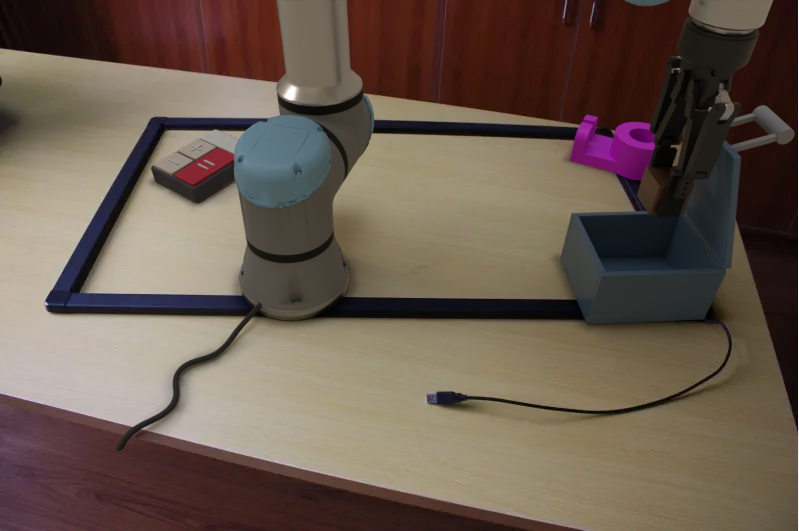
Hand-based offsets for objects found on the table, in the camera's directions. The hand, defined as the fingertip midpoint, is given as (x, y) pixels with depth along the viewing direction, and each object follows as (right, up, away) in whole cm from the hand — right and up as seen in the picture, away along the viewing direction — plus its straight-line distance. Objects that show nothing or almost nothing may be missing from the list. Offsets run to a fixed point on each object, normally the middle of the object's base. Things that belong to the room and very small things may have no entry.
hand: (659, 202), depth 83 cm
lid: (+5, +2, -1) cm, 6 cm away
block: (0, 0, 0) cm, 0 cm away
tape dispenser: (+7, +11, +37) cm, 39 cm away
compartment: (0, -11, +10) cm, 15 cm away
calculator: (-67, +8, +30) cm, 74 cm away
